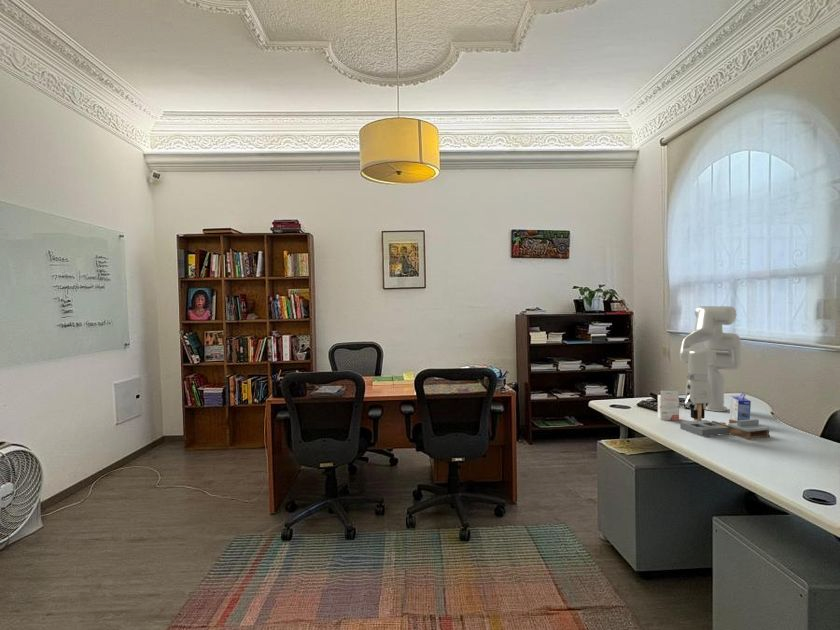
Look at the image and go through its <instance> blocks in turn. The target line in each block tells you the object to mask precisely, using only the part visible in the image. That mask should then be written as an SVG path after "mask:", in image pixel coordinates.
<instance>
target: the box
mask: <svg viewBox="0 0 840 630" xmlns="http://www.w3.org/2000/svg"><path fill="white" fill-rule="evenodd" d="M711 422H713V423H716V424H719V425H722V426H726V427H729V433H730V434H729V435H732V434H733V436H735V435H736V436H735V437H739V438H741V439H745V440H757V439H765V438H768V439H769V438H771V435H770V430H769V429H768V430H761V431H751V432H746V431H743V430H740V429H737V428H734V427H730V426H728V424H730V423H737V421H735V420H732V419H730V418H729V420H728V423H726V422H722V421H721V422H718V421H715V420H711Z"/></svg>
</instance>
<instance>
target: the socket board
mask: <svg viewBox="0 0 840 630" xmlns="http://www.w3.org/2000/svg"><path fill="white" fill-rule="evenodd" d="M679 428H680V429H681V430H683V431H685V430H686V432H688V431H689V433H691V434H693V435H694V434H695V435H696V434H697V435H696V436H699V435H700V436H699V437H702V436H704V437H711V436H710V435H714V436H719V435H718V434H724V435H730V434H729V427H726V426H722V425H719V424H716V423H713V422H712V421H710V420H707V419H702V421H695V420H691V421H681V422H680V423H679Z"/></svg>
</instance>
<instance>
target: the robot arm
mask: <svg viewBox="0 0 840 630" xmlns="http://www.w3.org/2000/svg"><path fill="white" fill-rule="evenodd" d="M694 315H695V317H696V319H695V320H696V321H695V326H694V330H693V331H692V332H690V333H689V334H688V335H687V336H685V337H684V338H683V339H682V341H681V344H680V349H679V354H678V355H679V356H678V357H679V360H680V362H682V363H683V364H687V365H688V366H687V367H688V371H687V372H688V373H687V378H686V379H687V381H686V385H685V400H684V404H685V405H686V406H687V407H688V408H689V409H690V418H692V419H693V420H694V419H697V418H698V410H696V409H697V404H702V419H705V410H706V411H710V412H727V411H728V407H727V406H725V376H724V375H723V373H722V372H721V371H720V370H724V371H725V370H728V371H729V370H730V371H738V370H740V368H741V365H742V345H741V338H740V336H739V335H738V334H736V333H731V332H730V333H729V332H723V325H724V326H728V325H732V324H733V323H735V321H736V320H737V310H736V309H735V307H733V306H731V305H730V306H724V305H723V306H722V305H721V306H714V305H710V306H709V305H705V306H704V305H703V306H698V307H695V310H694ZM699 343H703V345H704V348H699V347H698V348H697V347H691V346H693V345H696V344H699Z"/></svg>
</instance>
